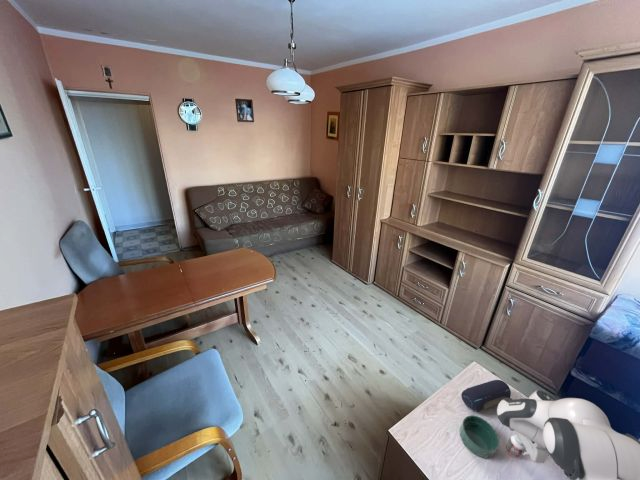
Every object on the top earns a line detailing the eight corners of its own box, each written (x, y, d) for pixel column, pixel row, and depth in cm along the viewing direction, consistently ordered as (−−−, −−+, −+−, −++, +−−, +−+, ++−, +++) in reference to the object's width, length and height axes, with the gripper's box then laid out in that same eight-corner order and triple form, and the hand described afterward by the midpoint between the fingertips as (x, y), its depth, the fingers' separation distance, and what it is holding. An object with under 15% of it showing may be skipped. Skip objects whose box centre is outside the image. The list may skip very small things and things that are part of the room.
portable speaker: (471, 417, 126) (478, 404, 122) (456, 398, 135) (462, 385, 131) (510, 404, 134) (518, 391, 129) (493, 386, 142) (500, 373, 138)
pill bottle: (507, 456, 113) (516, 443, 108) (502, 442, 117) (511, 429, 113) (521, 459, 112) (531, 447, 107) (516, 445, 116) (524, 433, 112)
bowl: (500, 460, 111) (505, 452, 109) (467, 456, 112) (471, 448, 109) (484, 424, 124) (488, 417, 121) (454, 421, 124) (457, 414, 122)
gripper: (508, 396, 115) (496, 414, 121) (539, 450, 97) (524, 469, 103) (522, 397, 115) (510, 416, 121) (557, 452, 96) (541, 470, 103)
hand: (517, 440), depth 112 cm, fingers open, 8 cm apart
